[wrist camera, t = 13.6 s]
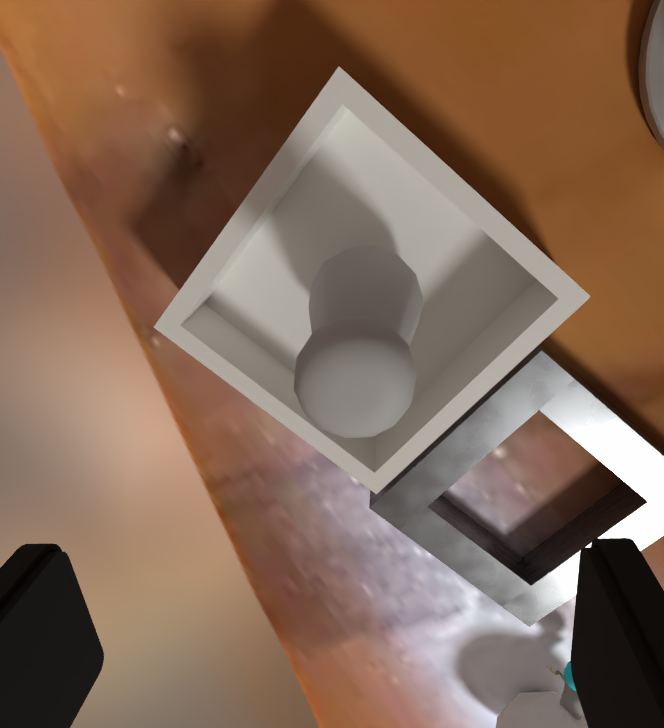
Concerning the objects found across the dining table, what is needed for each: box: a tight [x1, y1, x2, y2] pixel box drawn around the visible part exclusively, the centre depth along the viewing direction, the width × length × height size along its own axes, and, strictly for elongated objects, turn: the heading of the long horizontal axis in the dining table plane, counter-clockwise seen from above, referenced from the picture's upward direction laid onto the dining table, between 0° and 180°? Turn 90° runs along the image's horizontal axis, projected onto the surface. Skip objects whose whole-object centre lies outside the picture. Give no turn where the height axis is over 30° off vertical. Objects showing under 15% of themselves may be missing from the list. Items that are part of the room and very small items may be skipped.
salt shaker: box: [294, 245, 423, 438], centre depth 24 cm, size 6×6×13 cm
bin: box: [154, 67, 591, 494], centre depth 29 cm, size 15×15×5 cm
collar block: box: [369, 343, 664, 627], centre depth 34 cm, size 14×14×2 cm
